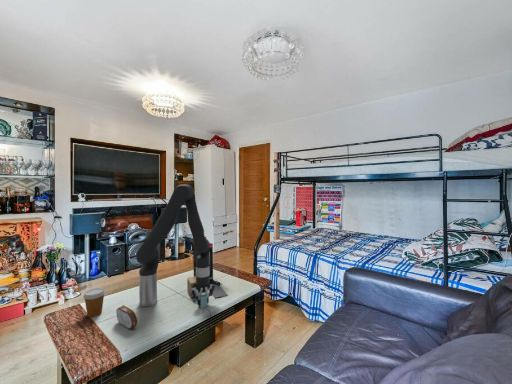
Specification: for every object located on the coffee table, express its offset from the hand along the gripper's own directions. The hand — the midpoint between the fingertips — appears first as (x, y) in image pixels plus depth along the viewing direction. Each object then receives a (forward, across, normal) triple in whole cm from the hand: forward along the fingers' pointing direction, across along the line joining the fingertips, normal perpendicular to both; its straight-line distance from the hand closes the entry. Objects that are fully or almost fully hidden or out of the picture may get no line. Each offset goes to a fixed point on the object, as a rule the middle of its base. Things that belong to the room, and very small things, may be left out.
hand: (203, 304), depth 135 cm
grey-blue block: (0, 0, +4) cm, 4 cm away
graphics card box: (+1, +11, +40) cm, 41 cm away
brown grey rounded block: (+1, -38, -2) cm, 38 cm away
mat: (+1, +13, +14) cm, 19 cm away
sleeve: (+1, 0, +17) cm, 17 cm away
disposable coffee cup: (+1, -53, +18) cm, 56 cm away
